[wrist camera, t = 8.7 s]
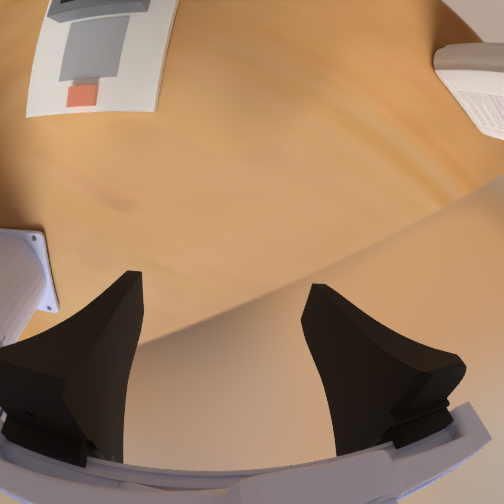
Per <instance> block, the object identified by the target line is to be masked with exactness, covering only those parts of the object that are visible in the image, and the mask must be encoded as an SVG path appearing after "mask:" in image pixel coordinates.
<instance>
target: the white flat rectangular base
mask: <svg viewBox="0 0 504 504" xmlns="http://www.w3.org/2000/svg"><path fill="white" fill-rule="evenodd" d="M178 4H179V0H50V2H49V5H48V8H47V11H46V14H45V17H44V21H43V24H42V27H41V31H40V35H39V39H38V43H37V47H36V52H35V56H34V61H33V66H32V72H31V78H30V85H29V92H28V100H27V111H26V118H29V117H37V116H45V115H55V114H66V113H81V112H105V111H141V112H157V106H158V99H159V93H160V87H161V81H162V75H163V69H164V64H165V59H166V54H167V49H168V44H169V40H170V35H171V31H172V27H173V23H174V19H175V15H176V11H177V7H178Z"/></svg>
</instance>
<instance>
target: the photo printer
mask: <svg viewBox="0 0 504 504" xmlns="http://www.w3.org/2000/svg"><path fill="white" fill-rule="evenodd" d="M433 64H434V68H435V72H436V74H437V75H438V77H439V78H440V80H441V81H442V82H443V83H444V85H445V86H446V87H447V88H448V90H449V91H450V92H451V94H452V95H453V96H454V97H455V99H456V100H457V101H458V103H459V104H460V105H461V106H462V108H463V109H464V110H465V112H466V113H467V115H468V116H469V117H470V119H471V120H472V121H473V123H474V124H475V125H476V127H477V128H478V129H479V130H480V131H481V132H482V133H483V134H485V135H488V136H492V137H495V138H499V139H502V140H504V43H462V44H451V45H446V46H445V47H444V48H440V49H438V50H437V51H436V53H435V55H434V59H433Z"/></svg>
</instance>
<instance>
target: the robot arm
mask: <svg viewBox="0 0 504 504" xmlns="http://www.w3.org/2000/svg"><path fill="white" fill-rule="evenodd" d="M34 236H35V237H36V239H35V238H34ZM49 306H50V307H49ZM36 309H37V310H42V311H48V312H53V313H57V312H58V310H59V305H58V301H57V297H56V293H55V289H54V284H53V280H52V275H51V270H50V265H49V260H48V254H47V248H46V241H45V236H44V234H43V233H42V232H41V231H31V230H18V229H5V228H0V492H2V493H4V494H6V495H8V496H10V497H12V498H14V499H16V500H18V501H20V502H22V503H24V504H398V503H397V501H399V500H401V499H403V498H405V497H407V496H409V495H411V494H413V493H415V492H417V491H419V490H421V489H423V488H424V487H426V486H428V485H430V484H431V483H433V482H435V481H436V480H438V479H440V478H441V477H443V476H445V475H446V474H448V473H449V472H451V471H453V470H454V469H456V468H457V467H458V466H460V465H461V464H463V463H464V462H465V461H466V460H468V459H469V458H471V457H472V456H473V455H474V454H476V453H477V452H478V451H479V450H480V449H482V448H483V447H484V446H485V445H486V444H488V443H489V442H490V441H491V440H492V438H491V436H490V435H489V433H488V431H487V429H486V428H485V426H484V425H483V423H482V421H481V420H480V418H479V417H478V415H477V413H476V412H475V410H474V409H473V407H472V406H471V404H470V403H469V402H466V403H464V404H462V405H460V406H458V407H456V408H454V409H453V410H452V411H450V412H449V411H448V410H447V408H446V407H448V406H449V404H450V403H449V401H448V400H447V397H448V395H450V393H451V392H452V391H453V390H454V389H455V388H456V386H457V385H458V384H459V383H460V381H461V380H462V379H463V377H464V375H465V372H466V365H465V364H464V362H463V361H462V360H461V359H460V357H459V356H458V355H456V354H453V353H449V352H445V351H441V350H437V349H434V348H431V347H428V346H426V345H423V344H420V343H418V342H415V341H413V340H411V339H409V338H407V337H404V336H402V335H400V334H398V333H396V332H394V331H393V330H391V329H389V328H388V327H386V326H384V325H382V324H381V323H379V322H378V321H376V320H374V319H373V318H371V317H370V316H369V315H367V314H366V313H364V312H363V311H362V310H360V309H359V308H357V307H356V306H355V305H353V304H352V303H351V302H349V301H348V300H347V299H345V298H344V297H343V296H342V295H340V294H339V293H338V292H336V291H335V290H333V289H332V288H330V287H329V286H327V285H325V284H312V286H311V290H310V293H309V296H308V299H307V302H306V305H305V308H304V311H303V314H302V317H301V324H302V328H303V332H304V336H305V339H306V342H307V345H308V347H309V350H310V352H311V355H312V357H313V360H314V362H315V365H316V367H317V369H318V372H319V374H320V377H321V380H322V383H323V386H324V389H325V393H326V397H327V401H328V405H329V410H330V414H331V419H332V425H333V431H334V437H335V445H336V455H337V457H334V458H329V459H325V460H319V461H315V462H309V463H303V464H297V465H290V466H283V467H275V468H265V469H254V470H237V471H186V470H170V469H158V468H149V467H141V466H134V465H128V464H123V430H124V413H125V401H126V392H127V384H128V378H129V373H130V369H131V366H132V362H133V358H134V354H135V351H136V347H137V344H138V340H139V337H140V333H141V327H142V321H143V315H144V304H143V287H142V272H140V271H129V270H128V271H126V272H125V273H124V274H123V275H122V276H121V277H120V278H118V279H117V280H116V281H115V282H114V283H113V284H112V285H111V286H110V287H109V288H107V289H106V290H105V291H104V292H103V293H102V294H101V295H99V296H98V297H97V298H96V299H94V300H93V301H92V302H91V303H89V304H88V305H87V306H86V307H84V308H83V309H82V310H80V311H79V312H77V313H76V314H74V315H73V316H71V317H70V318H68V319H66V320H65V321H63V322H61V323H59V324H58V325H56V326H54V327H52V328H50V329H48V330H46V331H44V332H42V333H40V334H38V335H35V336H33V337H30V338H28V339H25V340H23V341H20V342H17V341H18V339H19V337H20V335H21V334H22V332H23V330H24V329H25V327H26V325H27V324H28V322H29V320H30V319H31V317H32V316H33V314H34V312H35V311H36Z"/></svg>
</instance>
